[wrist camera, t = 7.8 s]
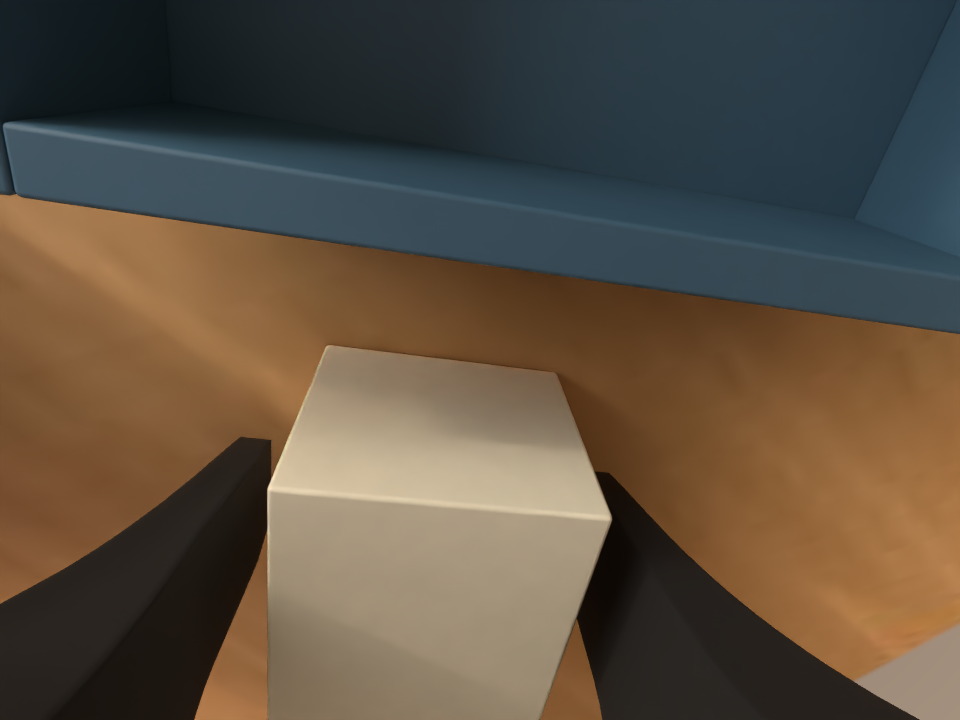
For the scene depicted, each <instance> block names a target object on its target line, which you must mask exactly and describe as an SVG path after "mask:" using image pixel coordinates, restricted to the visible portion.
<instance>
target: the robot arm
mask: <svg viewBox="0 0 960 720" xmlns="http://www.w3.org/2000/svg"><path fill="white" fill-rule="evenodd" d="M594 472H595V474H596V477H597V479H598V482H599V485H600V487H601V490H602V492H603V495H604V498H605V500H606V503H607V505H608V508H609V510H610V513H611V516H612V522H611V525H610V527H609V530H608V533H607V536H606V538H605V541H604V544H603V547H602V549H601V552H600V555H599V558H598V561H597V563H596V566H595V569H594V572H593V574H592V577H591V580H590V583H589V585H588V588H587V591H586V594H585V596H584V599H583V602H582V605H581V608H580V610H579V613H578V616H577V621H578V625H579V628H580V632H581V635H582V639H583V643H584V646H585V650H586V653H587V657H588V661H589V664H590V668H591V671H592V675H593V678H594V682H595V686H596V691H597V695H598V699H599V703H600V709H601V714H602V720H919V719H917V718H916V717H914V716H912V715H910V714H908V713H907V712H905V711H903V710H901V709H899V708H898V707H896V706H894V705H892V704H890V703H889V702H887V701H885V700H883V699H881V698H880V697H878V696H876V695H874V694H873V693H871V692H869V691H868V690H866V689H865V688H863V687H861V686H860V685H858V684H857V683H855V682H853V681H852V680H850V679H849V678H847V677H845V676H844V675H842V674H841V673H839V672H837V671H836V670H834V669H833V668H831V667H830V666H828V665H827V664H825V663H824V662H822V661H820V660H819V659H817V658H816V657H814V656H813V655H811V654H810V653H808V652H807V651H806V650H804V649H803V648H801V647H800V646H799V645H797V644H796V643H794V642H793V641H792V640H790V639H789V638H787V637H786V636H785V635H783V634H782V633H780V632H779V631H778V630H776V629H775V628H773V627H772V626H771V625H769V624H768V623H767V622H765V621H764V620H763V619H762V618H760V617H759V616H758V615H756V614H755V613H754V612H753V611H751V610H750V609H749V608H748V607H746V606H745V605H744V604H743V603H742V602H740V601H739V600H738V599H737V598H735V597H734V596H733V595H732V594H731V593H729V592H728V591H727V590H726V589H725V588H723V587H722V586H721V585H720V584H719V583H718V582H717V581H715V580H714V579H713V578H712V577H711V576H710V575H709V574H708V573H707V572H706V571H705V570H703V569H702V568H701V567H700V566H699V565H698V564H697V563H696V562H695V561H694V560H693V559H692V558H691V557H690V556H688V555H687V554H686V553H685V552H684V551H683V550H682V549H681V548H680V547H679V546H678V545H677V544H676V543H675V542H674V541H673V540H672V539H671V538H670V537H669V536H668V535H667V534H666V533H665V532H664V530H663V529H662V528H661V527H660V526H659V525H658V524H657V523H656V522H655V521H654V520H653V519H652V518H651V517H650V516H649V515H648V514H647V513H646V511H645V510H644V509H643V508H642V507H641V506H640V505H639V504H638V503H637V502H636V501H635V500H634V499H633V497H632V496H631V495H630V494H629V493H628V492H627V491H626V490H625V489H624V488H623V487H622V486H621V485H620V484H619V483H618V481H617V480H616V479H615V478H614V477H613V476H612V475H611V474H610V473H606V472H596V471H594ZM270 481H271V440H266V439H256V438H245V437H240V438H239V439H237V440H236V441H235V442H233V443H232V444H231V445H230V446H229V447H228V448H226V449H225V450H224V451H223V452H222V453H221V454H220V455H218V456H217V457H216V458H215V459H214V460H213V461H211V462H210V463H209V464H208V465H207V466H206V467H204V468H203V469H202V470H201V471H200V472H199V473H197V474H196V475H195V476H194V477H193V478H191V479H190V480H189V481H188V482H187V483H185V484H184V485H183V486H182V487H180V488H179V489H178V490H177V491H175V492H174V493H173V494H172V495H170V496H169V497H168V498H167V499H166V500H164V501H163V502H162V503H160V504H159V505H158V506H156V507H155V508H154V509H152V510H151V511H150V512H148V513H147V514H146V515H144V516H143V517H141V518H140V519H139V520H137V521H136V522H135V523H133V524H132V525H131V526H129V527H128V528H126V529H125V530H124V531H122V532H121V533H119V534H118V535H116V536H115V537H114V538H112V539H111V540H109V541H108V542H106V543H105V544H103V545H102V546H100V547H99V548H97V549H96V550H94V551H92V552H91V553H89V554H88V555H86V556H84V557H83V558H81V559H80V560H78V561H76V562H75V563H73V564H71V565H70V566H68V567H66V568H65V569H63V570H61V571H60V572H58V573H56V574H54V575H52V576H51V577H49V578H47V579H45V580H43V581H41V582H40V583H38V584H36V585H34V586H32V587H30V588H29V589H27V590H25V591H23V592H21V593H19V594H18V595H16V596H14V597H12V598H10V599H8V600H7V601H5V602H3V603H1V604H0V720H194V718H195V715H196V712H197V709H198V706H199V703H200V700H201V697H202V694H203V691H204V688H205V685H206V683H207V680H208V678H209V675H210V672H211V670H212V667H213V665H214V662H215V660H216V658H217V655H218V653H219V651H220V648H221V646H222V644H223V641H224V639H225V637H226V634H227V632H228V630H229V627H230V625H231V623H232V620H233V618H234V616H235V613H236V611H237V609H238V607H239V604H240V602H241V600H242V597H243V595H244V593H245V590H246V588H247V585H248V583H249V581H250V578H251V576H252V574H253V571H254V569H255V566H256V564H257V562H258V559H259V555H260V552H261V549H262V545H263V542H264V539H265V535H266V532H267V489H268V486H269V484H270Z"/></svg>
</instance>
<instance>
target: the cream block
mask: <svg viewBox="0 0 960 720" xmlns="http://www.w3.org/2000/svg"><path fill="white" fill-rule="evenodd" d="M611 522H612V516H611V513H610V510H609V508H608V505H607V503H606V500H605V498H604V495H603V492H602V490H601V487H600V485H599V482H598V479H597V477H596V474H595V472H594V469H593V467H592V464H591V461H590V459H589V456H588V454H587V451H586V448H585V446H584V443H583V441H582V438H581V435H580V433H579V430H578V428H577V425H576V423H575V420H574V417H573V415H572V412H571V410H570V407H569V404H568V402H567V399H566V397H565V394H564V391H563V389H562V386H561V384H560V381H559V379H558V376H557V374H556V373H554V372H547V371H538V370H530V369H522V368H514V367H505V366H497V365H489V364H481V363H473V362H464V361H456V360H448V359H440V358H432V357H423V356H415V355H407V354H399V353H390V352H382V351H374V350H366V349H358V348H349V347H341V346H333V345H328V346H326V348H325V351H324V353H323V355H322V358H321V360H320V363H319V365H318V368H317V370H316V372H315V375H314V377H313V380H312V382H311V384H310V387H309V389H308V392H307V394H306V397H305V399H304V401H303V404H302V406H301V409H300V411H299V414H298V416H297V418H296V421H295V423H294V426H293V428H292V431H291V433H290V435H289V438H288V440H287V443H286V445H285V447H284V450H283V452H282V455H281V457H280V460H279V462H278V464H277V467H276V469H275V472H274V474H273V477H272V479H271V481H270V484H269V486H268V489H267V652H268V720H540V718H541V715H542V713H543V710H544V707H545V704H546V702H547V699H548V696H549V693H550V690H551V688H552V685H553V682H554V679H555V677H556V674H557V671H558V668H559V666H560V663H561V660H562V657H563V655H564V652H565V649H566V646H567V643H568V641H569V638H570V635H571V632H572V630H573V627H574V624H575V621H576V619H577V616H578V613H579V610H580V608H581V605H582V602H583V599H584V596H585V594H586V591H587V588H588V585H589V583H590V580H591V577H592V574H593V572H594V569H595V566H596V563H597V561H598V558H599V555H600V552H601V549H602V547H603V544H604V541H605V538H606V536H607V533H608V530H609V527H610V525H611Z"/></svg>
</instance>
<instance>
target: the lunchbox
mask: <svg viewBox="0 0 960 720" xmlns="http://www.w3.org/2000/svg"><path fill="white" fill-rule="evenodd" d="M0 194H2V195H9V196H10V195H14V194H17V195H18V196H21V197H24V198H29V199H36V200H43V201H49V202H56V203H63V204H70V205H77V206H84V207H91V208H97V209H104V210H111V211H118V212H125V213H132V214H139V215H145V216H152V217H159V218H166V219H173V220H180V221H187V222H193V223H200V224H207V225H214V226H221V227H228V228H235V229H241V230H248V231H255V232H262V233H269V234H276V235H283V236H289V237H296V238H303V239H310V240H317V241H324V242H331V243H337V244H344V245H351V246H358V247H365V248H372V249H379V250H385V251H392V252H399V253H406V254H413V255H420V256H427V257H434V258H440V259H447V260H454V261H461V262H468V263H475V264H482V265H488V266H495V267H502V268H509V269H516V270H523V271H530V272H536V273H543V274H550V275H557V276H564V277H571V278H578V279H584V280H591V281H598V282H605V283H612V284H619V285H626V286H632V287H639V288H646V289H653V290H660V291H667V292H674V293H680V294H687V295H694V296H701V297H708V298H715V299H722V300H728V301H735V302H742V303H749V304H756V305H763V306H770V307H776V308H783V309H790V310H797V311H804V312H811V313H818V314H824V315H831V316H838V317H845V318H852V319H859V320H866V321H872V322H879V323H886V324H893V325H900V326H907V327H914V328H921V329H927V330H934V331H941V332H948V333H955V334H960V0H0Z"/></svg>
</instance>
